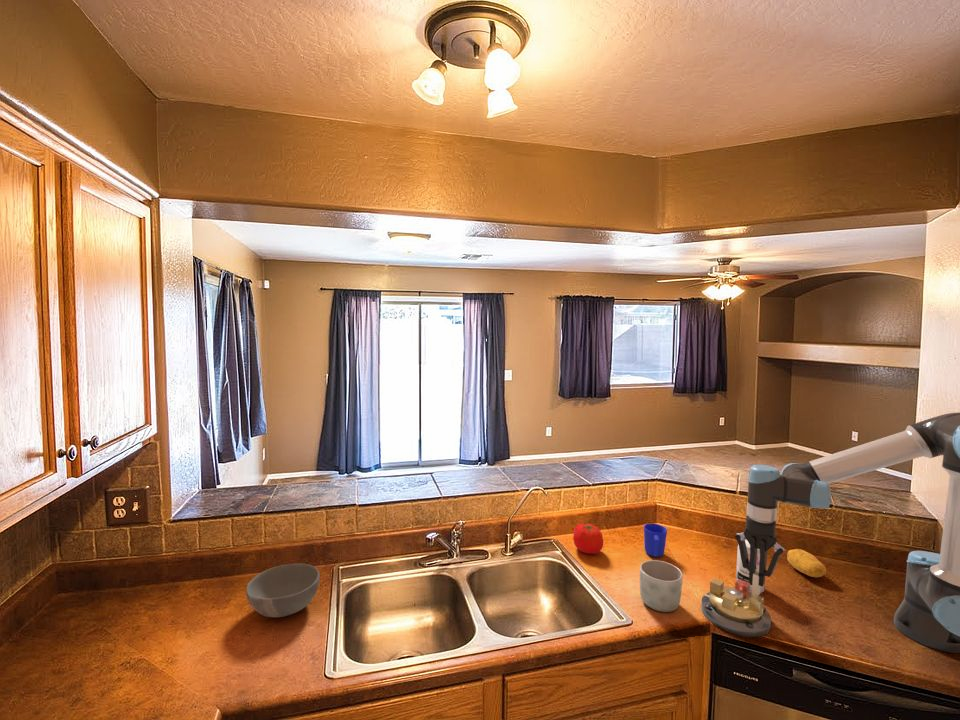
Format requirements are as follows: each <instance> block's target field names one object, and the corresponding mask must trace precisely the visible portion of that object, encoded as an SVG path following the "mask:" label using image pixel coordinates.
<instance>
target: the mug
mask: <svg viewBox="0 0 960 720" xmlns="http://www.w3.org/2000/svg"><path fill="white" fill-rule="evenodd" d="M667 535H668V529H667V528H666V527H665V526H663V525H661V524H658V523H646V524H644V525H643V538H644V539H643V541H644V542H643V543H644V551H645V553H646V554H647V555H649V556H651V557H654V558H655V557H656V558H659V557H662V556H664V554H665V550H666V549H665V548H666V543H667Z"/></svg>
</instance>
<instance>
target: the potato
mask: <svg viewBox="0 0 960 720" xmlns="http://www.w3.org/2000/svg"><path fill="white" fill-rule="evenodd" d="M786 559H787V561H788V562H789V564H790V565H791V567H793V568H794V569H795V570H797V571H798V572H800V573H802V574H804V575H807V576H808V577H812V578H820V577H824V576H825V575H826V574H827V568H826V565H825V564H824V563H822V562H821V561H820V560H819V559H818V558H817V557H816V556H815V555H813V553H812V554H811V552H807V551H806V550H803V549H801V548H800V549H798V548H795V549H789V550H788V551H787V555H786Z"/></svg>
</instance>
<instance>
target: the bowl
mask: <svg viewBox="0 0 960 720" xmlns="http://www.w3.org/2000/svg"><path fill="white" fill-rule="evenodd" d="M319 584H320V571H319V569H318V568H317V567H315V566H314V565H312V564H307V563H301V562H300V563H288V564H281V565H278V566H273V567H270V568H268V569H266V570H264V571H262V572H260V573H258V574H256V575H255V576H254V577H253V578H252V579H251V580H249V582H248V583H247V585H246V589H245V594H246V599H247V601H248V603H249V605H250V606H251V607H252V609H253V610H254V611H255V612H257V613H258V614H260V615H261V616H264V617H267V618H283V617H288V616H291V615H294V614H295V613H298V612H300V611H302V610H303V609H305V607H308V605H309V603H310V602H311V601H312V600H313V599H314V597H315V596H316V594H317V591H318V588H319Z"/></svg>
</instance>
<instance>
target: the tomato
mask: <svg viewBox="0 0 960 720" xmlns="http://www.w3.org/2000/svg"><path fill="white" fill-rule="evenodd" d="M572 537H573V538H572V539H573V543H574V546H575V548H577V550H578V551H579V552H581V553H584V554H586V555H596V554H598V553H600V552H601V550H602V549H603V547H604V539H603V533H602V531H601V530H600V529H599V528H598V527H596V526H595V525H594V524H592V523H591V524H590V523H587V524H586V523H582V522H581V523H578V524H577V525H576V526H575V527H574V529H573V536H572Z"/></svg>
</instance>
